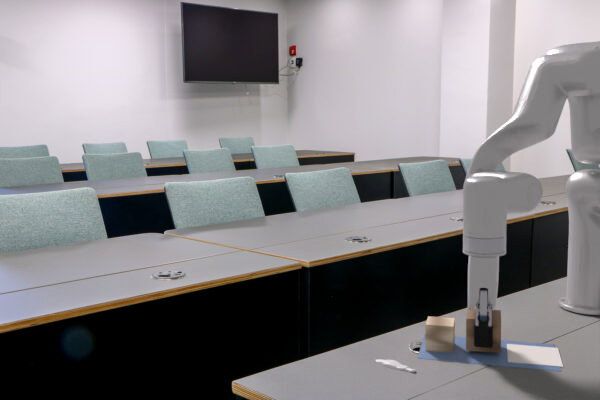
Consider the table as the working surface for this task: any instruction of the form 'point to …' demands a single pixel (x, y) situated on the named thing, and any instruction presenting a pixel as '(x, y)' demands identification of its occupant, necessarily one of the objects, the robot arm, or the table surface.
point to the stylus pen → (395, 365)
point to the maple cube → (440, 334)
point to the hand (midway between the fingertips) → (483, 339)
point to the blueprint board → (502, 355)
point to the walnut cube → (496, 331)
